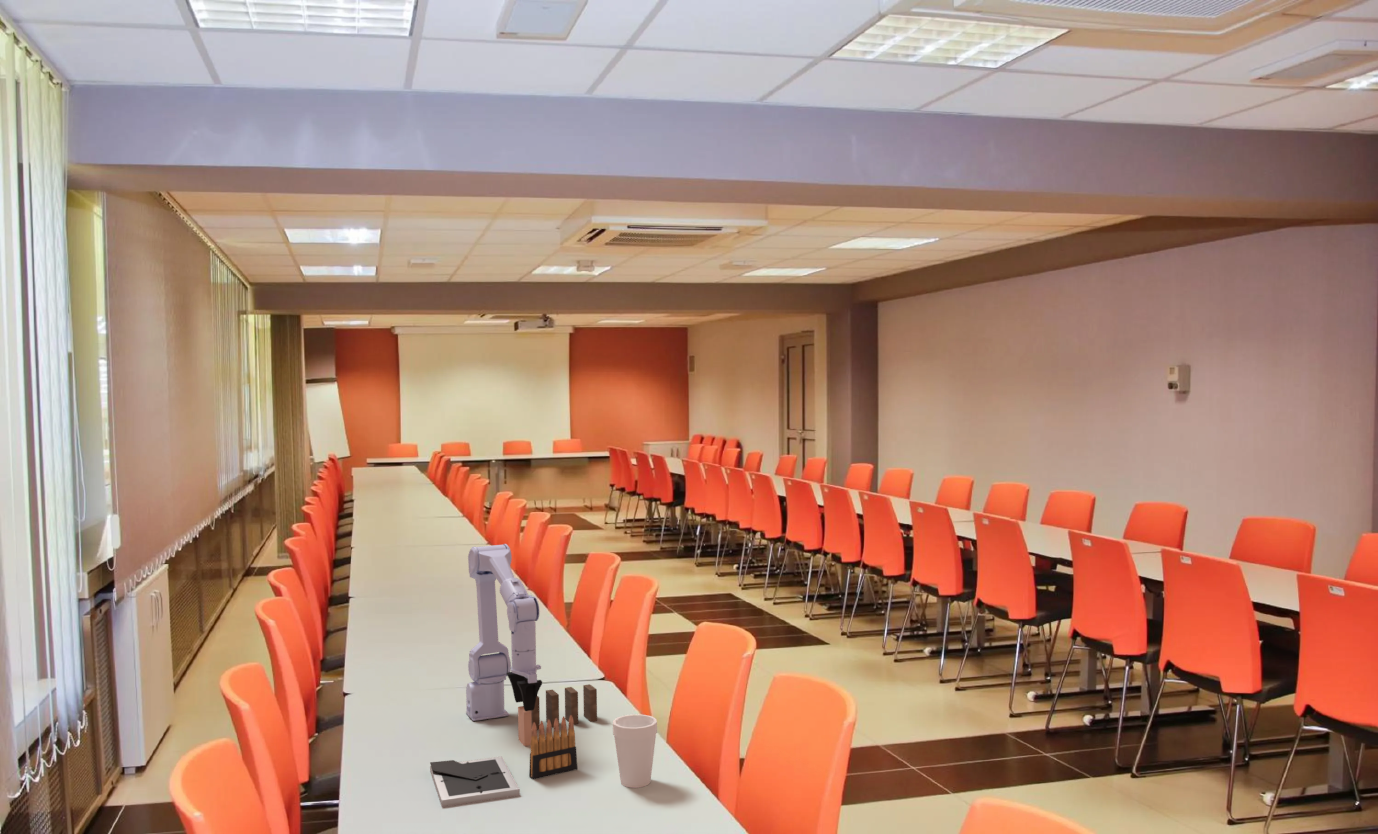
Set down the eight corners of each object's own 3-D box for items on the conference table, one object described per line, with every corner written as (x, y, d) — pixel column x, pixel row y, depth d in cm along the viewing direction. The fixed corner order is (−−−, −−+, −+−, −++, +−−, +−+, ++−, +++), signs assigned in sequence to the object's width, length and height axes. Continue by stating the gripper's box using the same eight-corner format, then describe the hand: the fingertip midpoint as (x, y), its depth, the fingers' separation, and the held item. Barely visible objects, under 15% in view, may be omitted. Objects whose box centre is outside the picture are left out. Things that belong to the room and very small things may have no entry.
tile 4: (571, 724, 257) (571, 692, 257) (565, 718, 262) (564, 687, 262) (578, 723, 258) (577, 691, 258) (571, 717, 262) (571, 686, 262)
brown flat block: (590, 721, 259) (589, 690, 259) (583, 716, 264) (583, 685, 264) (597, 720, 260) (596, 689, 260) (590, 715, 265) (589, 684, 264)
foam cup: (637, 770, 225) (637, 711, 225) (666, 781, 219) (666, 720, 218) (604, 782, 219) (603, 721, 218) (633, 793, 212) (632, 731, 212)
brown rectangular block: (532, 730, 253) (532, 698, 253) (526, 724, 257) (526, 693, 257) (539, 729, 254) (539, 697, 253) (533, 723, 258) (533, 692, 258)
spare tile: (524, 746, 242) (523, 712, 242) (518, 739, 246) (518, 706, 246) (531, 745, 242) (531, 711, 242) (525, 738, 247) (525, 705, 247)
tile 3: (552, 727, 255) (551, 695, 255) (546, 721, 260) (545, 690, 259) (559, 726, 256) (558, 694, 256) (553, 720, 260) (552, 689, 260)
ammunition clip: (532, 779, 221) (531, 724, 221) (529, 776, 222) (528, 721, 222) (577, 769, 227) (576, 715, 226) (573, 766, 228) (573, 713, 228)
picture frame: (430, 774, 226) (441, 810, 207) (430, 762, 226) (441, 796, 206) (501, 765, 231) (519, 798, 212) (501, 752, 231) (519, 785, 212)
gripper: (549, 653, 239) (550, 711, 239) (531, 640, 252) (532, 695, 252) (519, 657, 236) (520, 716, 236) (503, 643, 249) (503, 699, 249)
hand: (524, 705), depth 244 cm, fingers open, 7 cm apart
